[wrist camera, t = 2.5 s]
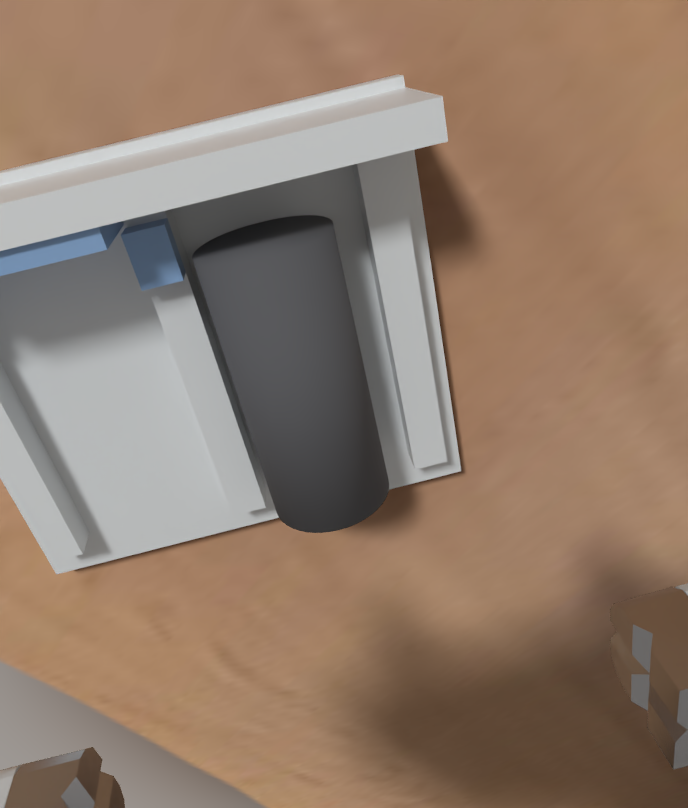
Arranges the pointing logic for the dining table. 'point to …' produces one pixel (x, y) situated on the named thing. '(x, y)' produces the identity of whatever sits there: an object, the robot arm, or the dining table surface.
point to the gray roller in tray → (297, 368)
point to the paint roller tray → (202, 315)
